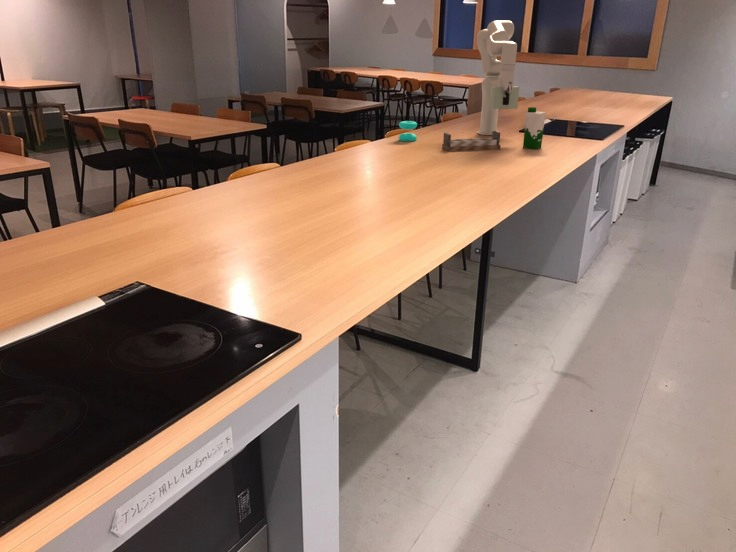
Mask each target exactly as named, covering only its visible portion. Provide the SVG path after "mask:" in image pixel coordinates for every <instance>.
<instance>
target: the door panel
mask: <svg viewBox="0 0 736 552" xmlns="http://www.w3.org/2000/svg"><path fill="white" fill-rule="evenodd" d="M506 91H508V90H506ZM506 93H507V92H506ZM519 96H520V86H517V85H516V86H514V85H513V90H512V93H511V94H510V97H509V105H503V97H504V91H502V87H492V94H491V106H490V109H498V110H511V109H512V110H513V109H515V110H517V109H518V104H519Z"/></svg>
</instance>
